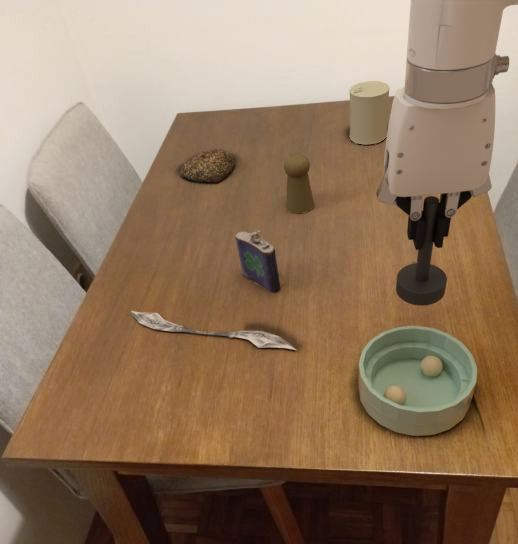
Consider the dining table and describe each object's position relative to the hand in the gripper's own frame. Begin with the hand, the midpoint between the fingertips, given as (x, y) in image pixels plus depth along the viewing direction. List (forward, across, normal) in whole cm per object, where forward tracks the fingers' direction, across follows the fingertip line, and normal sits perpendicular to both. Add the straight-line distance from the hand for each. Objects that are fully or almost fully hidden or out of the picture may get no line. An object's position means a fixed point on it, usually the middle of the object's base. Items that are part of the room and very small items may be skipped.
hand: (426, 241), depth 61 cm
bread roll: (+23, +36, -67) cm, 80 cm away
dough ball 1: (+21, +3, +6) cm, 22 cm away
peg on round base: (+8, 0, 0) cm, 8 cm away
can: (+23, -3, -76) cm, 79 cm away
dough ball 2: (+21, -3, +1) cm, 21 cm away
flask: (+23, +23, -23) cm, 40 cm away
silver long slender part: (+23, +32, -11) cm, 41 cm away
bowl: (+23, 0, +4) cm, 23 cm away
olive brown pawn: (+23, +15, -47) cm, 55 cm away
